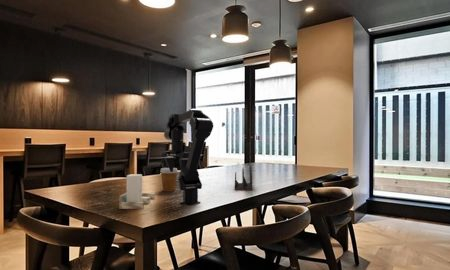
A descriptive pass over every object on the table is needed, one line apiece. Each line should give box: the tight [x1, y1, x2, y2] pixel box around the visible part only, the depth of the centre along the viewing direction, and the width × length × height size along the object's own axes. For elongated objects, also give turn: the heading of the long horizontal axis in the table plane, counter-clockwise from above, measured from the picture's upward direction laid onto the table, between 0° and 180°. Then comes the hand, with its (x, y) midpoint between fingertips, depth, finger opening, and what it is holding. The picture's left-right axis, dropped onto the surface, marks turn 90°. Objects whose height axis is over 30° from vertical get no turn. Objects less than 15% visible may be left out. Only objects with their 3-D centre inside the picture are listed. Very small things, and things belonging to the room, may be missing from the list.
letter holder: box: [233, 163, 253, 191], centre depth 172 cm, size 10×20×14 cm, turn 177°
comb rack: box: [118, 191, 156, 210], centre depth 129 cm, size 10×21×5 cm, turn 0°
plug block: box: [126, 173, 143, 202], centre depth 123 cm, size 5×5×13 cm
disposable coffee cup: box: [159, 167, 179, 192], centre depth 161 cm, size 10×10×12 cm
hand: (177, 172), depth 141 cm, fingers open, 9 cm apart
